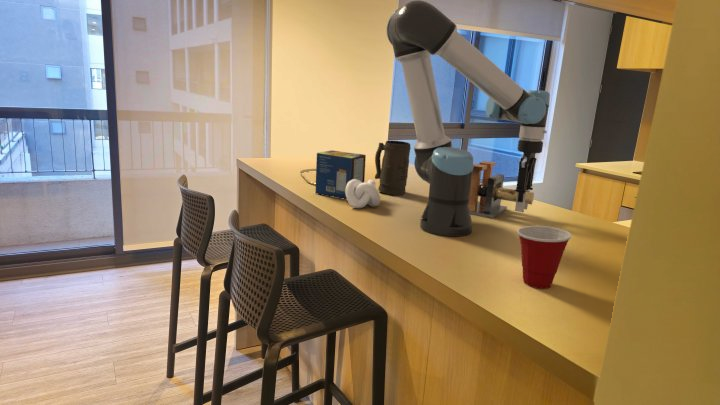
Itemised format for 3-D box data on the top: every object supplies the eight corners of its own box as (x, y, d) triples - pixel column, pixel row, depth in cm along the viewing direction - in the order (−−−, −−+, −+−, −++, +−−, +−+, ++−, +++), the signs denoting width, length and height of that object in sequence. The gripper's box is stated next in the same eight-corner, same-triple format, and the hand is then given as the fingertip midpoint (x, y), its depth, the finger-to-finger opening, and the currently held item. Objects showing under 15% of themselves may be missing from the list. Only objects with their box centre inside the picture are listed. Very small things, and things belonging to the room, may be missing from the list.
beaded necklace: (310, 188, 182) (310, 184, 182) (296, 172, 215) (296, 168, 214) (355, 188, 188) (356, 184, 187) (336, 172, 220) (336, 168, 220)
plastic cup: (509, 270, 107) (516, 220, 104) (559, 278, 104) (568, 227, 101) (510, 288, 97) (518, 234, 94) (565, 297, 94) (575, 241, 91)
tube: (529, 206, 150) (531, 193, 149) (459, 194, 162) (460, 182, 161) (532, 203, 153) (534, 191, 152) (463, 192, 166) (465, 180, 164)
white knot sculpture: (352, 211, 150) (353, 184, 148) (338, 202, 161) (339, 177, 158) (383, 209, 155) (384, 183, 152) (368, 201, 165) (369, 176, 163)
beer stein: (411, 192, 182) (415, 142, 178) (399, 197, 174) (403, 144, 169) (378, 186, 190) (381, 138, 186) (364, 190, 181) (367, 139, 177)
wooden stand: (493, 218, 151) (500, 169, 147) (442, 208, 160) (447, 162, 156) (506, 209, 164) (512, 164, 160) (458, 200, 173) (463, 158, 169)
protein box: (330, 189, 181) (331, 150, 177) (364, 195, 173) (366, 154, 170) (314, 193, 172) (315, 152, 168) (349, 200, 165) (351, 157, 161)
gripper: (537, 142, 139) (526, 217, 145) (548, 139, 153) (538, 207, 159) (512, 140, 143) (502, 212, 149) (525, 137, 157) (516, 203, 163)
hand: (521, 209), depth 154 cm, fingers closed on tube, 4 cm apart
